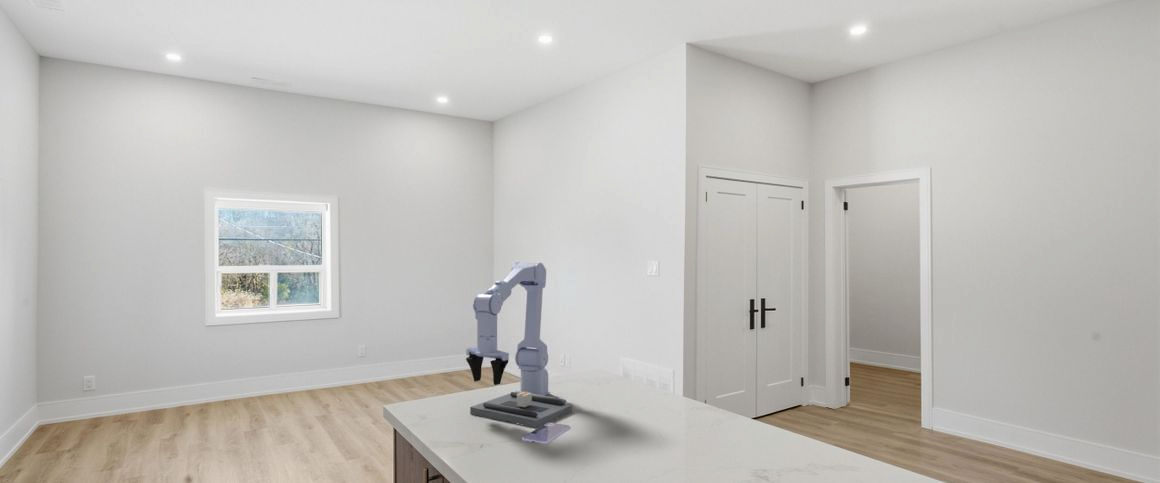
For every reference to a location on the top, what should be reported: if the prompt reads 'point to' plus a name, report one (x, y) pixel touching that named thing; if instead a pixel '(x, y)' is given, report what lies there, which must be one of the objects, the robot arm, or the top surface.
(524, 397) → the white orange striped block
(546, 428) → the mobile phone
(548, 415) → the panel
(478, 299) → the robot arm
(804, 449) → the top surface
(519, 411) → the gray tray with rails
